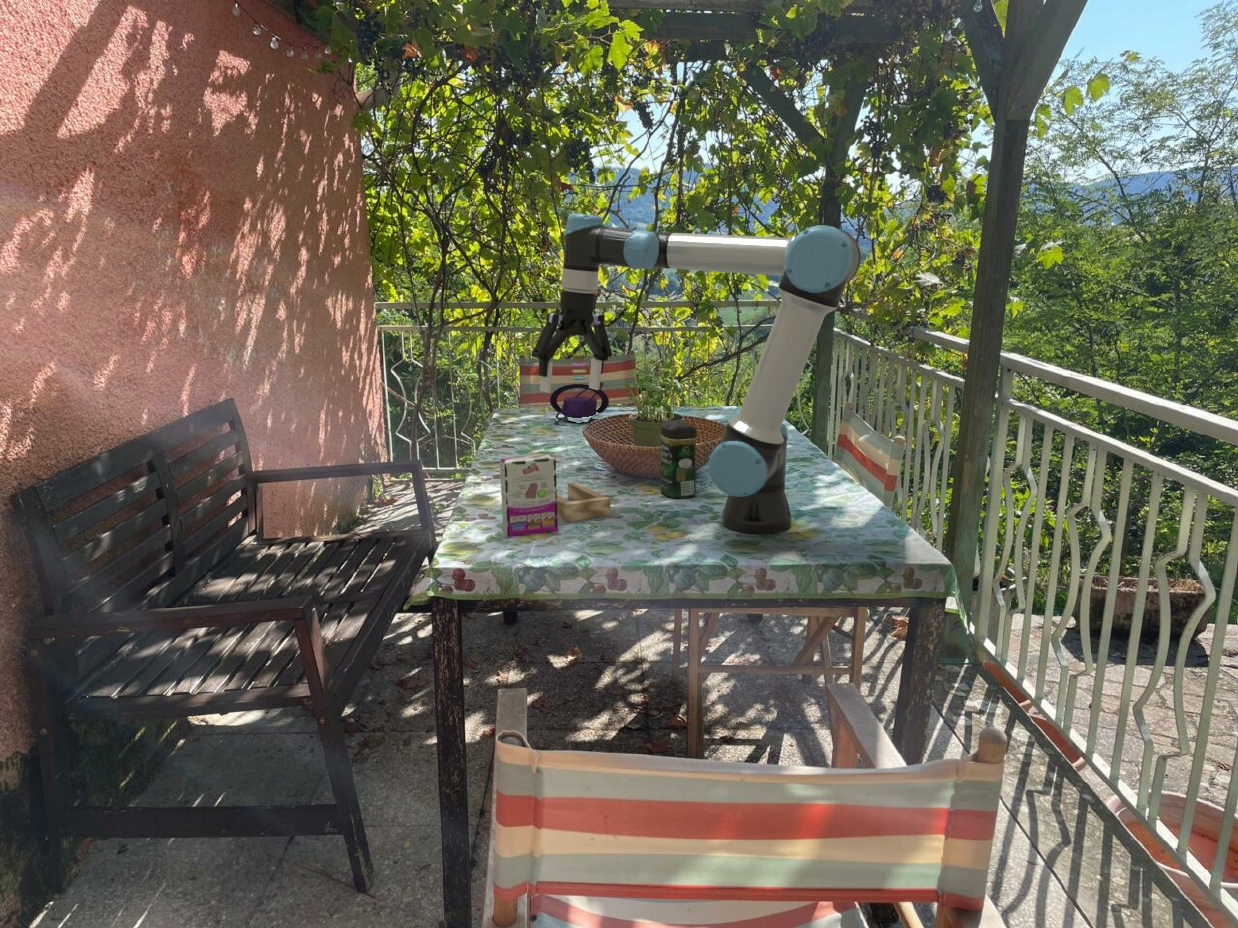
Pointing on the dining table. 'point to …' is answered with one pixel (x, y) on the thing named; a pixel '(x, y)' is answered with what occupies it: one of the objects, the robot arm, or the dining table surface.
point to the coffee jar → (678, 459)
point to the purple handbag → (579, 405)
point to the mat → (612, 514)
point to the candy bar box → (529, 495)
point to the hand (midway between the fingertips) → (570, 390)
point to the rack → (582, 504)
